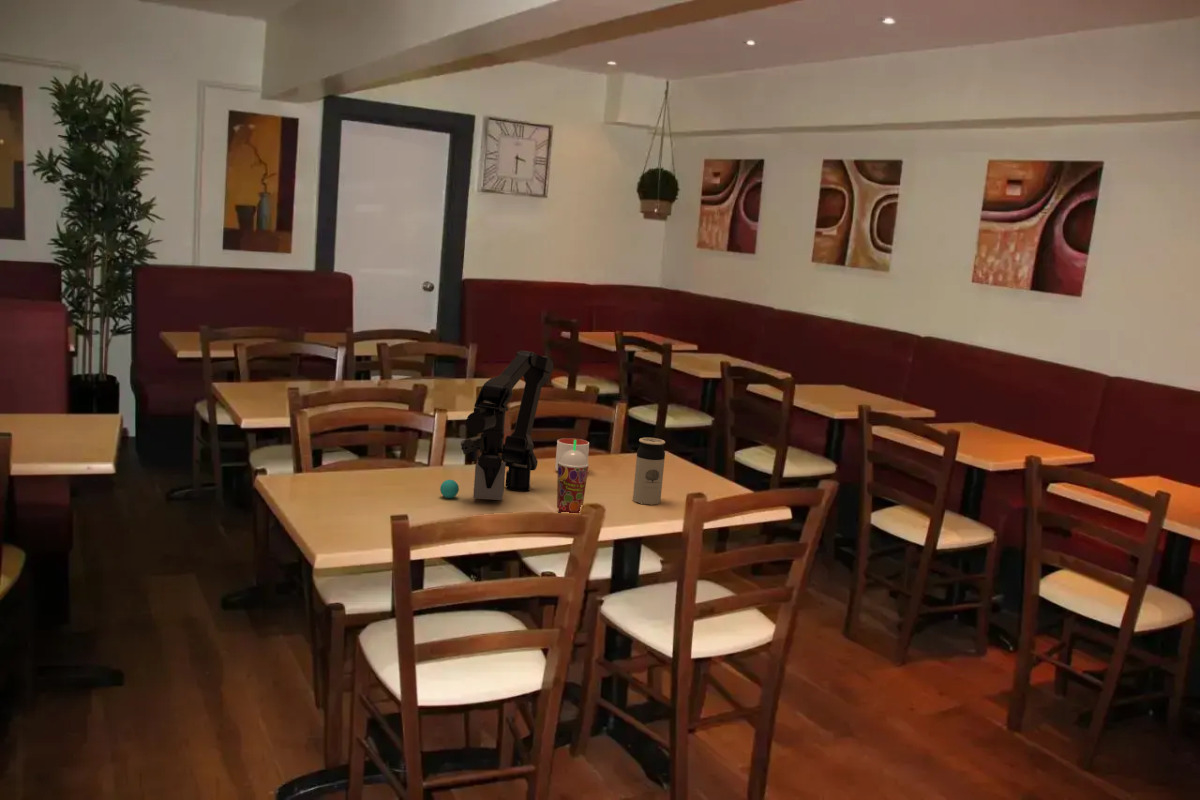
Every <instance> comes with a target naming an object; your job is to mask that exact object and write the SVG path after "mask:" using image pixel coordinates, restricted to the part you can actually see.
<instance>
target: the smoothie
mask: <svg viewBox="0 0 1200 800" xmlns="http://www.w3.org/2000/svg"><path fill="white" fill-rule="evenodd" d="M589 466H590V463H589V461H588V462H587V459H586V457H585V455H584V454H583V453H582V452H580V451H578V450H576V440H574V446H573V450H569V451H566V452H565V453H564V454H563V455H562V456H561V458H560V460H559V461H558V472H557V479H556V482H557V488H556V491H557V492H556V493H557V494H556V495H557V496H556V507H557V509H558V512H569V513H579V511H580V507H581V505H583V506H584V499H585V493H586V487H587V479H588V471H589ZM580 512H581V511H580Z"/></svg>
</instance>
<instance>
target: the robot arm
mask: <svg viewBox="0 0 1200 800" xmlns="http://www.w3.org/2000/svg"><path fill="white" fill-rule="evenodd" d="M553 371H554V362H553V360H551V357H549V356H544V355H539V354H537V353H535V352H534V351H527V350H519V351H517V352H516V355H515V357H514V358H513V359H512V360H511V361H510V363H509V364H508V365H507V366H506V367H505V368H504V370H503V371H502V372H501V373H500V374H499V375H498V376H495V377H491V378H490V379H488V380H486V382H484V383H483V385H482V386H481V389H480V391H479V394H478V396H477V398H476V400H475V402H474V405H473V406H474V407H473V412H470V413H469V415H468V416H467V418H466V421H465V425H466V428H467V430H468V431H469V432H470V433H472V434H475V435H478V436H473V437H469V438H465V439H463V440H462V441H460V447H461V450H462V453H463V455H468V454H469V453H473V452H476V451H479V453H480V454H479V455H478V457H477V461H478V465H479V467H481V468H482V469H483V470H484V474H485V481H486V487H487V488H491V487H492V485H493V482H494V480H495V478H496V476H497V474H498V472H499V470H500V468H501V464H502V462H506V466H505V468H506V467H507V468H508V469H507V470H506V471H505V483H504V487H506V490H507V491H508V490H509V491H518V492H519V491H520V492H521V491H522V492H529V491H530V490H531V489H530V488H531V484H530V483H531V471H536V469H537V467H538V460H537V457H536V455H535V453H534V447H535V446H534V442H533V439H532V431H533V427H534V422H535V418H536V414H537V409H538V406H539V401H540V396H541V392H542V389H543V387H544V386H545V384H546V383H548V382H549V381H550V378H551V374H552V373H553ZM522 378H523V379H524V380H523V381H524V382H525V383H524V384H525V385H524V387H523V392H522V396H521V400H520V405H519V410H518V413H517V416H516V417H517V418H516V422H515V426H514V430H513V432H512V433H511V434H510V435H506V437H505V423H506V422H505V421H506V412H508V411H509V407H508V406H507V405H508V404H509V402H510V401H511V400H512V397H513V396H514V395H513V394H514V393H513V389H514V388H515V386H516V385H517V384H518V382H519V381H520V380H521V379H522ZM479 434H480V435H479ZM504 437H505V440H504Z"/></svg>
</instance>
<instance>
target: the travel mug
mask: <svg viewBox="0 0 1200 800" xmlns="http://www.w3.org/2000/svg"><path fill="white" fill-rule="evenodd" d="M638 442H639V446H638V448H637V450H636V459H635V471H634V472H635V473H634V481H633V491H632V500H633V501H634V502H635V503H637V502H638V503H637V504H639V503H642V504H641V505H644V504H656V505H659V504H660V503H661V499H662V489H663V479H664V478H663V477H664V469H665V468H664V467H665V458H666V452H665V449H664V446H665V444H666V441H665V440H663V439H661V438H655V437H642V438H641V437H640V438H639V440H638Z"/></svg>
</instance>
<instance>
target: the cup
mask: <svg viewBox="0 0 1200 800" xmlns="http://www.w3.org/2000/svg"><path fill="white" fill-rule="evenodd" d="M574 440H576V450H578V451H580V452H582V453H583V454H584V455H585V457H586V459H587V462H588V463H589V450H590V442H589V441H587V440H584V439H580V438H573V437H572V438H571V437H570V438H569V437H565V438H559V439H557V441H556V443H557V444H556V454H555V465H554V466H555V467H554V468H555V470H557V471H558V461H559V460H560V458H561V456H562V455H563V454H564V453H565V452H566V451H569V450H573V446H574ZM557 471H556V472H557Z"/></svg>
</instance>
